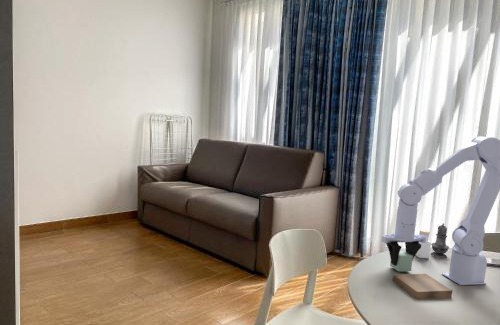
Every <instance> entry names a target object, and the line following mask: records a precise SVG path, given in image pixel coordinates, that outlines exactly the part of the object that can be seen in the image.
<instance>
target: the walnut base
mask: <svg viewBox="0 0 500 325" xmlns="http://www.w3.org/2000/svg"><path fill="white" fill-rule="evenodd" d="M392 275H393V276H392V282H394V284H396V285H397V286H399V287H400V288H401V289H402V290H403V291H405V292H406V293H408V294H409V295H410V296H412V297H413V298H414V299H416V300H421V299H422V300H424V299H443V298H444V299H445V298H452V295H453V289H451V288H449V287H448V286H446V284H445V285H444V284H443V283H442V282H440V281H438V280H437V279H435V278H434V277H432V276H430V275H429V274H427V273H410V274H409V273H407V274H406V273H405V274H403V273H402V274H392Z"/></svg>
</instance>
